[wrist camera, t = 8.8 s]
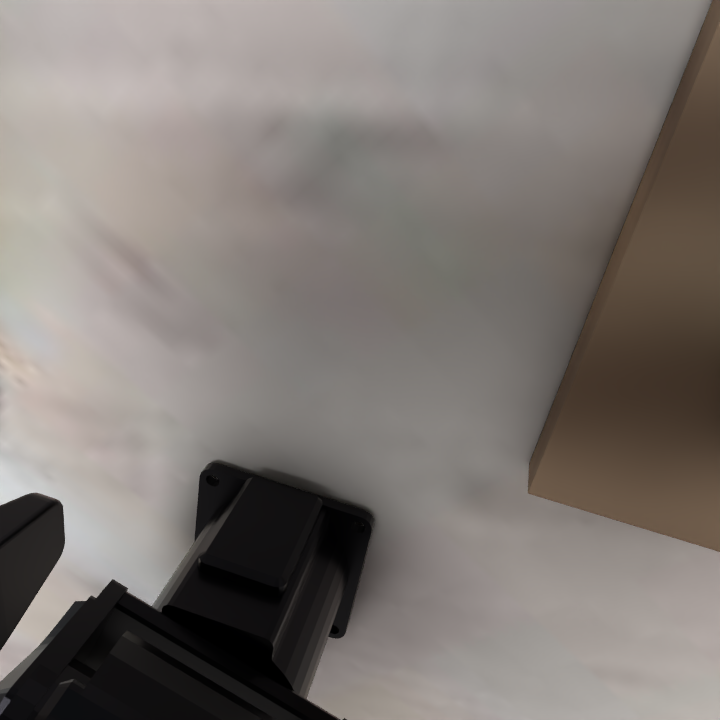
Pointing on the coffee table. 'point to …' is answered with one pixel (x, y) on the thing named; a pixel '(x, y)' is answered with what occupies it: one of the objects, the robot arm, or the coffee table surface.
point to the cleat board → (653, 341)
